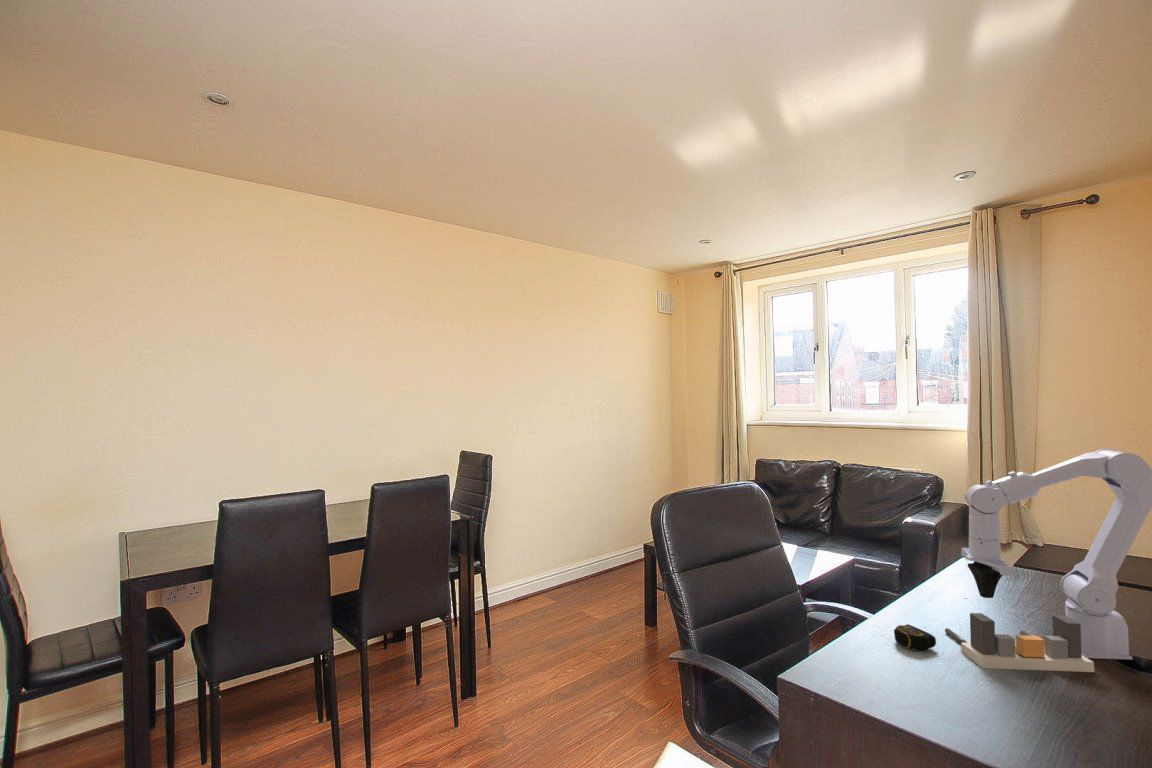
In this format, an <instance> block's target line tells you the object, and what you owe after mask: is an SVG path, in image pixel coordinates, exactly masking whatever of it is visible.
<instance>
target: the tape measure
mask: <svg viewBox="0 0 1152 768" xmlns="http://www.w3.org/2000/svg"><path fill="white" fill-rule="evenodd" d="M893 633H894V640H895V642H896V643H897V644H898V645H899V646H901V647H903V648H906V649H909V650H911V651H921V652H922V651H927V650H929V649H933V648H934V647H935V646H936V645H937V639H936V637H935V636H934V635H932V634H931V633H929V632H927V631H925V630H923V629H920V628H919V627H916V626H913V625H911V624H905V625H904V624H902V625H901V624H899V625H897V626H896V627H895V628H894V629H893Z"/></svg>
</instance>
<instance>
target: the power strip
mask: <svg viewBox="0 0 1152 768" xmlns="http://www.w3.org/2000/svg"><path fill="white" fill-rule="evenodd" d="M944 632H945V634H947V635H948V636H950V637H951V638H952V639H953V640H955V641H957V643H958V644H960V647H961V648H960V650H961V651H960V652H961V653H962V654H964V655H965V656H966V657H967V658H969V659H970V660H971V661H973V662H974V663H975V664H976V665H977V666H979V667H981V669H994V670H996V669H998V670H1022V671H1023V670H1025V671H1047V672H1048V671H1050V672H1051V671H1052V672H1053V671H1054V672H1082V673H1095V662H1094V661H1093V660H1091V659H1090V658H1086V657H1084V656H1082V658H1068V640H1066V639H1064V638H1062V637H1060V636H1053V635H1044V636H1043V640H1044V651H1045V657H1023V656H1022V655H1020V654H1019V653H1017V650H1016V638H1015V637H1012V636H1011V635H1009V634H1003V633H1002V634H1001V633H1000V634H998V633H995V655H983V654H981V653H980V652H978V651H977V650H976V649H974V648H973V647H972V646H971V642H968V641H967V640H965V639H964V638H963V637H961V636H960V635H958V634H957V633H955V632H954V631H953V630H952V629H950V628H947V627H946V628H945V629H944ZM1019 635H1031V636H1033V635H1032V634H1030V633H1028V632H1027V631H1025V630H1022V629H1021V630H1020V631H1019Z"/></svg>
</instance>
